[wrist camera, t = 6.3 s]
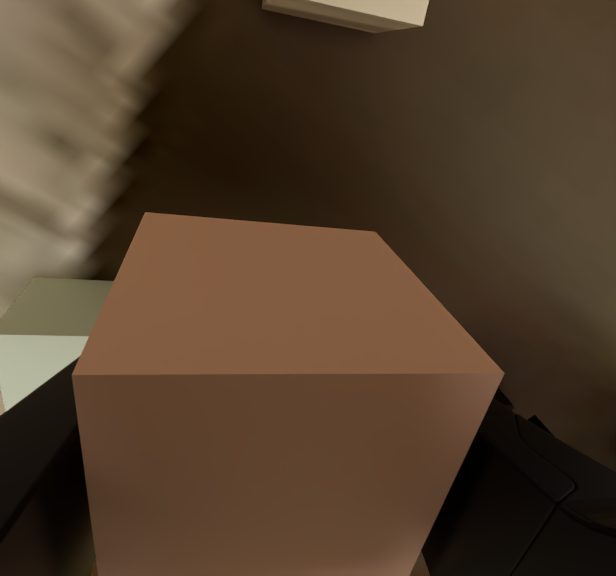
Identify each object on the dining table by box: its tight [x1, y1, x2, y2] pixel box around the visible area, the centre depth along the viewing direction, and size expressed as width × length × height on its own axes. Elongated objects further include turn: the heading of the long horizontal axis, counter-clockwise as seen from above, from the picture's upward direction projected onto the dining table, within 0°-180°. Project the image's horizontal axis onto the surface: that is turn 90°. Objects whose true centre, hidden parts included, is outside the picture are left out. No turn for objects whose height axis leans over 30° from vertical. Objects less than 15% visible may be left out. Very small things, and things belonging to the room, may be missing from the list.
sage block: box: [0, 277, 114, 411], centre depth 20 cm, size 5×5×5 cm
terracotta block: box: [72, 212, 504, 576], centre depth 8 cm, size 5×5×5 cm
